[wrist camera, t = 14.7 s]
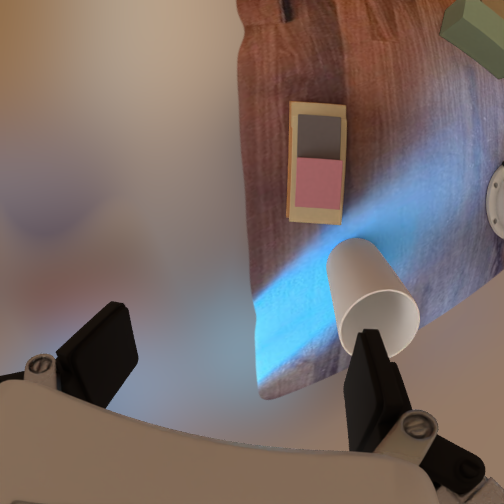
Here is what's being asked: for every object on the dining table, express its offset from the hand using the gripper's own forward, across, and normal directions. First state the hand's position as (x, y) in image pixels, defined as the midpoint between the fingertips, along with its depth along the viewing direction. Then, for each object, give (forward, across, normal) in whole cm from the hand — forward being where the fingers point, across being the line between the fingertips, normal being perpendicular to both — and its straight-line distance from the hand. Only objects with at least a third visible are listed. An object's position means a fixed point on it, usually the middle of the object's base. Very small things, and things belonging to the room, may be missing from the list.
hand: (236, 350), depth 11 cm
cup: (+30, -11, +8) cm, 33 cm away
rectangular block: (+30, -29, -29) cm, 51 cm away
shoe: (+30, -4, -6) cm, 31 cm away
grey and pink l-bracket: (+24, -4, -7) cm, 25 cm away
